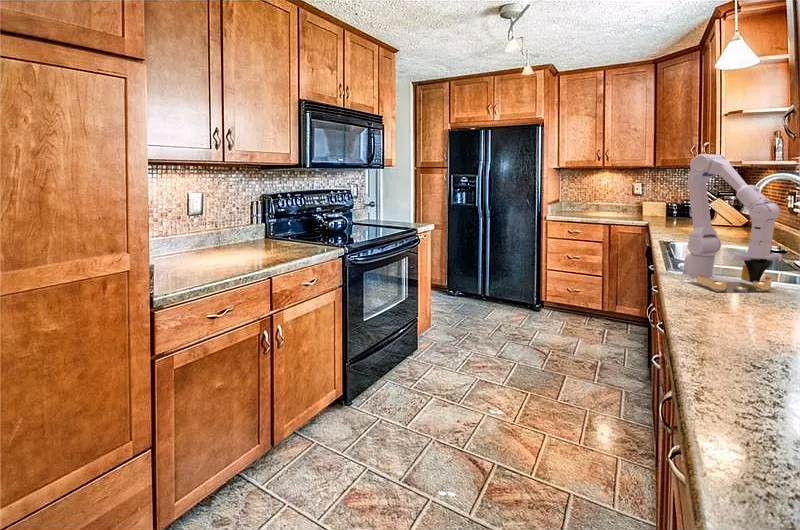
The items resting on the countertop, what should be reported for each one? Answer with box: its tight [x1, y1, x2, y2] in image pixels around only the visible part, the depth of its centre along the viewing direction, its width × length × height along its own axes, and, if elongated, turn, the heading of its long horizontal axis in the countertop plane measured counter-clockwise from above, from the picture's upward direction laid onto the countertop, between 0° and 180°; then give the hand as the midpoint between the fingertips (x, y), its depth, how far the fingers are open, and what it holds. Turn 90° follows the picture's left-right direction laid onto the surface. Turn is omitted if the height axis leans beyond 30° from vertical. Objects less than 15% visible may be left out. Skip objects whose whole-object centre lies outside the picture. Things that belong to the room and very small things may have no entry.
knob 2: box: [752, 276, 773, 292], centre depth 153 cm, size 11×4×3 cm, turn 131°
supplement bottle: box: [740, 258, 761, 284], centre depth 166 cm, size 5×5×10 cm
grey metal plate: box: [687, 281, 775, 294], centre depth 155 cm, size 14×19×3 cm
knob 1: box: [696, 275, 728, 292], centre depth 153 cm, size 11×4×3 cm, turn 3°
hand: (753, 282), depth 156 cm, fingers closed
